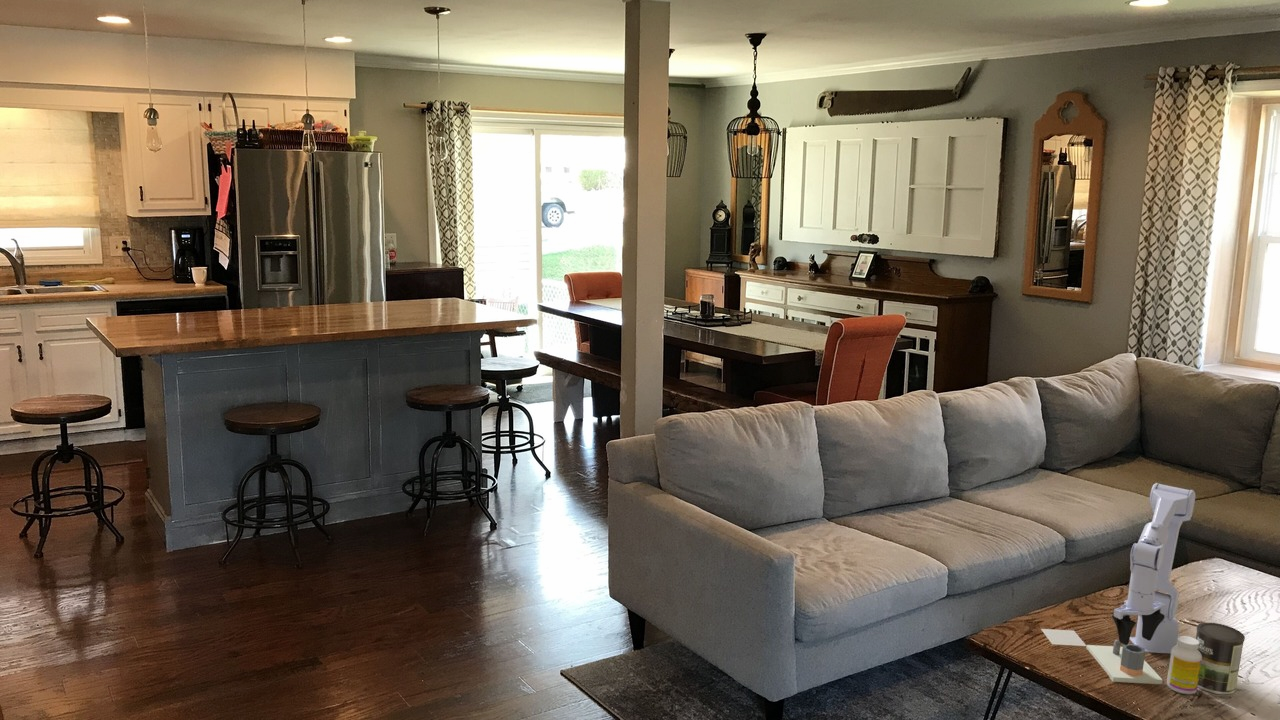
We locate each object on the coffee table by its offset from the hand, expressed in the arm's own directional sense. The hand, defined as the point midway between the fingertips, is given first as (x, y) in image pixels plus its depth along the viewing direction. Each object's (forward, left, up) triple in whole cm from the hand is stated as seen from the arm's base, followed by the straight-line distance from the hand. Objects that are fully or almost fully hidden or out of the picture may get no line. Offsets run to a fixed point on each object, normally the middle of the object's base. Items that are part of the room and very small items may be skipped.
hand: (1135, 640), depth 249 cm
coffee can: (-19, +3, -10) cm, 21 cm away
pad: (+10, -18, -9) cm, 23 cm away
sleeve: (0, 0, -8) cm, 8 cm away
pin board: (0, -4, -9) cm, 10 cm away
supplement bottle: (-10, +6, -10) cm, 15 cm away
